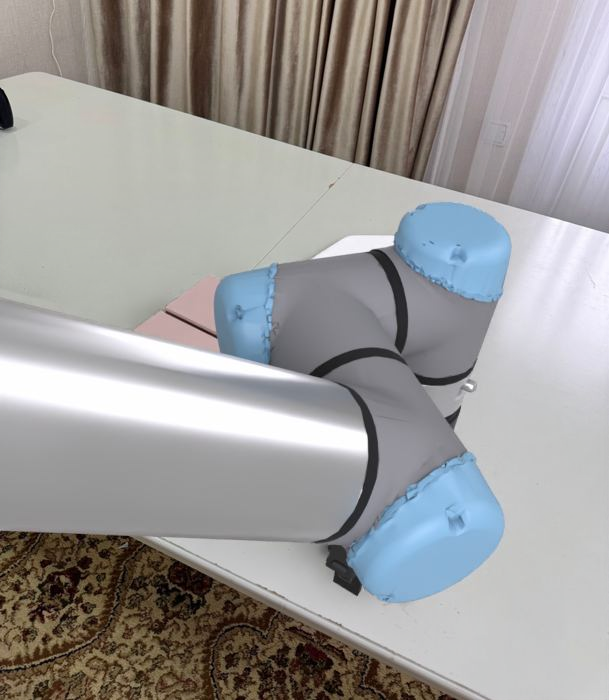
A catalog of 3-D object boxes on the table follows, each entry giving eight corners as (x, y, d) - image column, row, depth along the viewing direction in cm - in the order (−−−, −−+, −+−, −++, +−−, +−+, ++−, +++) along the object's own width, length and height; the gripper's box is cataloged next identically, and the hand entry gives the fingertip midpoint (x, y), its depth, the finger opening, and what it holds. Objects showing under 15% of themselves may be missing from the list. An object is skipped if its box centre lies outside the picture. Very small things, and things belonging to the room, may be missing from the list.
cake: (232, 371, 88) (232, 339, 84) (168, 338, 93) (164, 306, 89) (272, 334, 95) (273, 303, 91) (210, 305, 99) (209, 274, 95)
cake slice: (201, 400, 84) (199, 368, 80) (134, 364, 88) (129, 332, 84) (228, 375, 88) (227, 343, 84) (163, 342, 92) (160, 310, 88)
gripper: (388, 527, 40) (352, 659, 55) (510, 327, 57) (458, 469, 71) (292, 473, 43) (281, 612, 57) (434, 297, 59) (398, 440, 73)
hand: (379, 534), depth 64 cm, fingers open, 13 cm apart
